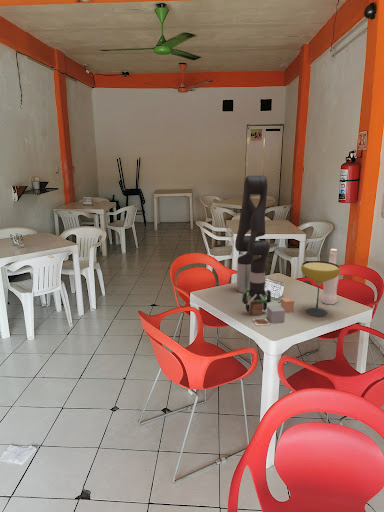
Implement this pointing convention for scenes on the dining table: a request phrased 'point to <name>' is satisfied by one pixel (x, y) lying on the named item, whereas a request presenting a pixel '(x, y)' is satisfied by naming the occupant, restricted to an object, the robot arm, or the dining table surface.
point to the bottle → (330, 283)
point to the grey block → (275, 314)
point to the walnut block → (256, 308)
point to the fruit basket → (256, 300)
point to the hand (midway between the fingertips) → (256, 310)
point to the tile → (261, 322)
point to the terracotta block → (287, 304)
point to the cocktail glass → (319, 279)
